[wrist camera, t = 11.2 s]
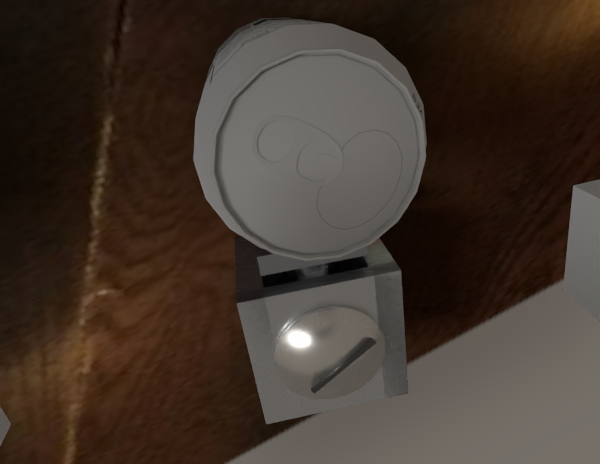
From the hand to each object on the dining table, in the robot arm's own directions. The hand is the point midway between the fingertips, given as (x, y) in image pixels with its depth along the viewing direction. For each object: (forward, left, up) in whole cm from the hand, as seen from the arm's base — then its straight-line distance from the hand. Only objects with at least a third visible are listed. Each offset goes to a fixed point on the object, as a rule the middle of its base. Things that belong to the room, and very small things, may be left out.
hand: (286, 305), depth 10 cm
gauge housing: (+13, +2, -21) cm, 24 cm away
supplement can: (-1, +2, -21) cm, 21 cm away
